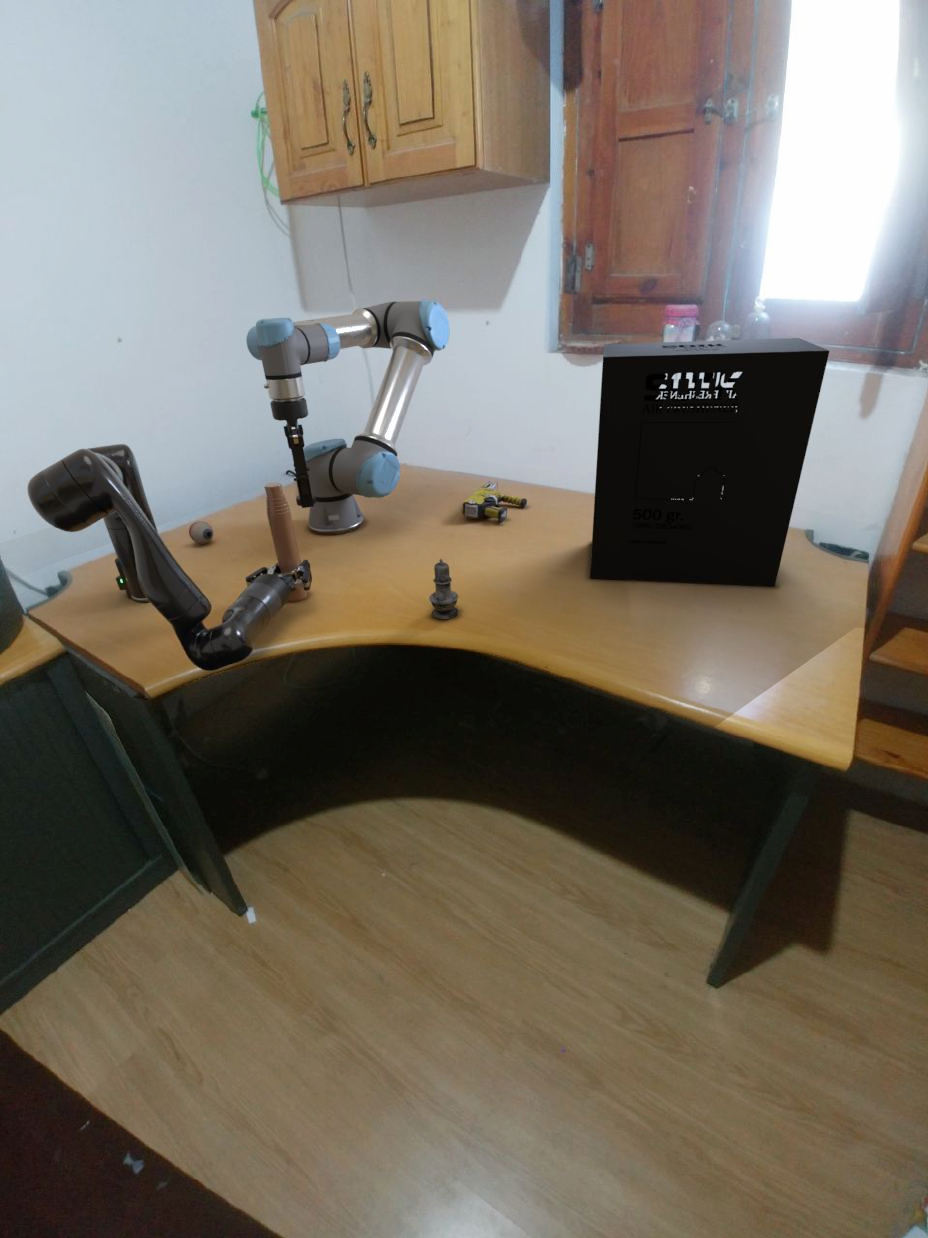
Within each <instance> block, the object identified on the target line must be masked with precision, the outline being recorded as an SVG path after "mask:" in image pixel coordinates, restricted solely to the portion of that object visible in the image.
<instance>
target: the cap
mask: <svg viewBox="0 0 928 1238" xmlns="http://www.w3.org/2000/svg"><path fill="white" fill-rule="evenodd" d="M312 499H313V504H315V503H316V497H315V495H314V494H312ZM295 501H296V505H297V506H299V507H302V506H301V501H300V495H299V494H298V495H297V496H296V497H295Z"/></svg>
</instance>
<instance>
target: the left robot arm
mask: <svg viewBox="0 0 928 1238" xmlns="http://www.w3.org/2000/svg"><path fill="white" fill-rule="evenodd" d="M27 496H28V499H29V501H30V503H31V504H30V505H32V507H33V509H34V510H35V512H36V513H37V514H38V515H39V516H40V517H41V518H42V519H43V520H44V522H46V523H47V524H49V525H51V526H52V527H54V528H56V529H58V530H60V531H64V532H67V533H76V532H81V531H83V530H85V529H87V528H89V527H90V526H92V525H94V524H95V523H97V522H98V521H100V520H102V519H103V523H104V525H105V528H106V530H107V534H108V535H109V538H110V541H111V544H112V546H113V549H114V552H115V554H116V558H115V559H114V563H115V566H116V569H117V571H118V574H119V575H117V576H116V577H115V581H116V583H117V586H118V589H119V590H120V591H125V593H126V595H127V598H128V599H132V600H133V601H134V602H138V603H150V604H151V605H152V606H153V608H155V609H156V611H158V613H160V615H161V616H162V617H163V618H164V619H165V621H167V622H168V623H169V624H170V625H171V627H172V629H173V632H174V633H175V636H176V638H177V640H178V641H179V643H180V645H181V647H182V649H183V651H184V653H185V655H186V657H187V658H188V660H189V661H190V662H191V663H192V664H193V665H194V666H195V667H197V668H199V669H200V670H204V671H207V672H212V671H217V670H219V669H222V668H226V667H228V666H231V665H234V664H237V663H239V662H242V661H243V660H246V658H248V657H249V656H250V655H251V654H252V652H253V651H254V649H255V647H256V644H257V642H258V638H259V636H260V635H259V634H260V633H261V632H262V631H263V629H264V628H265V627H266V626H267V624H268V623H270V622H271V621H272V620H274V618H275V617H276V616H277V614H279V612H280V611H281V610H282V609H283V608H284V607H285V605H286V603H287V602H289V601H288V599H289V596H290V593H291V592H293V591H295V590H296V588H304V590H305V591H307V592H308V591H310V590H311V586H312V581H313V575H312V571H311V564H310V561H309V560H308V559H303V560H302V561H301V564H300V565H299V566H298V567H297V568H296V569H290V570H288V571H287V572H285V573H281V574H280V569H279V565H278V561H277V562H276V563H275V564H274V565H271V566H270V567H269V568H267V566H262V567H260V568H259V569H257V570H256V571H254V572H252V573H251V574H249V575H247V576H246V577H245V578H244V579H245V582H246V587H245V589H243V590H242V592H241V593H240V594H239V596H238V597H237V598H236V599H235V601H234V602H233V603H232V604H231V605H230V606H229V607H227V609H226V611H224V613H223V615H222V617H221V624H217V625H215V626H213V627H210V628H207V627H206V626H205V623H204V622H203V621H205V619H207V618H208V616H209V615H210V613H211V612H212V607H213V606H212V603H211V602H210V600H209V598H208V597H207V596H206V595H205V594H204V593H203V591H202V590H201V589H200V588H199V587H198V585H197V584H196V583H195V582H194V580H192V578H191V576H189V575H188V574H187V572H186V571H185V570H184V569H183V568H182V566H181V564H179V563H178V561H177V560H176V558H175V557H174V555H173V554H172V553H171V550H169V548H168V547H167V544H165V543H164V540H163V539H162V537H161V536H160V534H159V532H158V531H159V530H158V529H157V525H156V522H155V519H154V515H153V512H152V510H151V508H150V504H149V501H148V499H147V494H146V492H145V488H144V485H143V481H142V478H141V473H140V469H139V466H138V462H137V460H136V457H135V454H134V452H133V450H132V449H131V448H130V446H128V445H127V444H125V443H118V444H109V445H102V446H95V447H88V448H80V449H77V450H75V451H73V452H71V453H70V454H68V455H66V456H64V457H63V458H62V459H59V460H58V461H56V462H55V463H53V464H51V465H49V466H48V467H46V468H44V469H43V470H41V471H39V472H37V473H36V474H34V476H32V477H31V478H30V479H29V481H28V484H27ZM298 573H299V576H298Z"/></svg>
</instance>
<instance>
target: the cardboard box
mask: <svg viewBox="0 0 928 1238" xmlns="http://www.w3.org/2000/svg"><path fill="white" fill-rule="evenodd" d="M829 356H830V350H829V349H827V348H824V347H822V346H819V345H817V344H815V343H813V342H809V341H808V340H804V339H802V338H799V337H787V338H786V337H785V338H756V339H755V338H753V339H751V338H750V339H724V340H691V341H689V340H688V341H661V342H631V343H604V344H603V353H602V368H601V385H600V386H601V387H600V399H599V400H600V402H599V416H598V417H599V419H598V434H597V436H598V437H597V452H596V467H595V468H596V470H595V487H594V502H593V503H594V504H593V521H592V535H591V536H592V538H591V554H590V569H589V571H590V572H589V578H590V579H600V580H625V581H647V582H665V583H666V582H667V583H668V582H669V583H688V584H689V583H691V584H692V583H693V584H714V585H735V586H755V587H756V586H757V587H759V586H760V587H776V583H777V579H778V575H779V572H780V571H779V570H780V566H781V562H782V557H783V553H784V549H785V545H786V541H787V536H788V532H789V528H790V523H791V519H792V514H793V510H794V506H795V502H796V497H797V493H798V489H799V485H800V480H801V475H802V473H803V472H802V471H803V467H804V464H805V457H806V454H807V449H808V446H809V441H810V437H811V433H812V428H813V425H814V419H815V415H816V411H817V407H818V403H819V398H820V395H821V390H822V385H823V381H824V376H825V373H826V368H827V363H828V360H829ZM735 373H740V374H739V376H738V377H733V375H734V374H735ZM676 374H680V378H678V381H677V387H674V386H675V385H674V384H675V378H673V377H674V375H676ZM687 374H692V378H691V384H694V385H693V387H689V385H690V378H687ZM701 374H703V378H700V376H701ZM718 374H719V378H718ZM722 377H723V382H722ZM717 379H718V383H717ZM722 383H723V384H727V383H729V384H731V383H733V384H732V387H731V386H730V387H726V386H725V387H724V386H723V385H722ZM703 384H708V387H702V385H703ZM662 386H665V387H664V388H663V387H662ZM661 387H662V388H661Z"/></svg>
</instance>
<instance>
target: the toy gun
mask: <svg viewBox="0 0 928 1238" xmlns="http://www.w3.org/2000/svg"><path fill="white" fill-rule="evenodd" d="M498 486H499V483H498V482H497V481H493V482H492V481H491V480H489V481H488V482H487V483H485V484H483V485H482V486H481V487H479V488H478V489H477V490H476V491H474V493H472V495H470V496H469V497H468V498H467V499H466V500H465V501H464V502H462V506H461V508H462V509H461V514H462V516H463V517H466V518H467V519H471V520H472V519H474V518H475V519H482V518H486V517H489V518H494V519H498V521H497V522H498V523H499V522H502V521H504V520H506V519H507V516H508V506H503V507H501V505H499V504H500V503H505V504H506V503H507V504H511V505H515V506H519V507H521V508H525V507H526V506H527V503H528V499H526V497H525V498H524V497H520V496H514V495H511V494H510V495H509V494H506V493H505V494H503V495H502V496H501V493H500V492H499V491H498V489H499V487H498Z"/></svg>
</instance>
